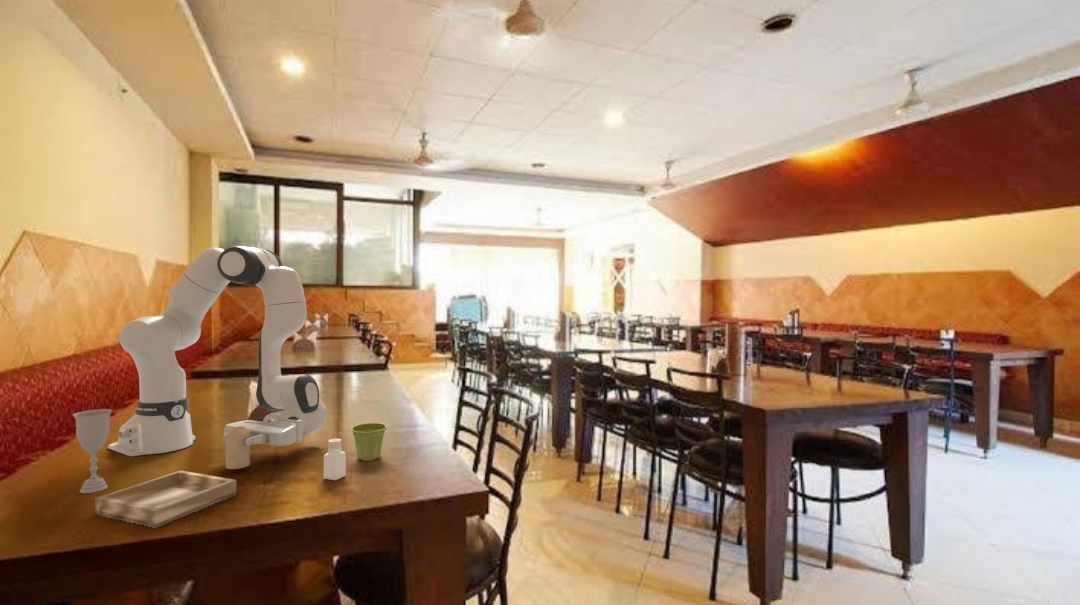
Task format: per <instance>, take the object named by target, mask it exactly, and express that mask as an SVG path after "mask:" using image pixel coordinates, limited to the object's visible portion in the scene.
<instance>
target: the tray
mask: <svg viewBox="0 0 1080 605" xmlns="http://www.w3.org/2000/svg"><path fill="white" fill-rule="evenodd" d="M236 496H237V479H232V478H225V477H221V476H216V475H209V474H204V473H199V472H197V473H196V472H193V471H192V472H191V471H186V470H180V469H179V470H176V471H173V472H170V473H168V474H164V475H162V476H158V477H156V478H152V479H150V480H146V481H143V482H140V483H137V484H134V485H131V486H128V487H125V488H122V489H119V490H115V491H112V492H110V493H106V494H103V495H100V496H97V497H95V498H94V500H95V501H94V502H95V504H94V505H95V506H94V511H95V512H94V514H95V516H99V517H103V518H107V519H111V518H112V520H116V519H117V520H116V521H120V520H122V521H121V522H124V521H126V522H125V523H129V522H131V523H130V524H133V523H136V524H135V525H137V524H140V525H139V526H141V525H144V526H143V527H146V526H148V527H147V528H150V527H152V528H151V529H154V528H155V530H156V528H157V529H159V528H161V527H164V526H166V525H168V524H167V523H169V522H171V523H173V522H175V521H174V520H176V521H178V520H180V519H179V518H181V519H183V518H185V517H188V516H190V515H192V514H191V513H193V512H195V513H197V512H200V511H202V510H204V509H203V508H205V509H207V508H209V507H212V506H214V505H216V504H215V503H217V504H218V502H219V503H221V502H224V501H226V500H228V498H229V499H231V498H233V497H236ZM223 500H224V501H223ZM220 501H221V502H220ZM213 504H214V505H213ZM211 505H212V506H211ZM208 506H209V507H208ZM206 507H207V508H206ZM201 509H202V510H201ZM199 510H200V511H199ZM189 514H190V515H189ZM193 514H194V513H193ZM187 515H188V516H187ZM184 516H185V517H184ZM182 517H183V518H182ZM177 519H178V520H177ZM172 521H173V522H172ZM165 524H166V525H165ZM169 524H170V523H169ZM163 525H164V526H163ZM158 527H159V528H158Z"/></svg>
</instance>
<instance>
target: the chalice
mask: <svg viewBox="0 0 1080 605" xmlns="http://www.w3.org/2000/svg"><path fill="white" fill-rule="evenodd" d="M112 411H113V409H111V408H99V409H98V408H97V409H89V410H82V411H79V412H75V413H73V414H72V416H73V417H74V419H75V437H76V438H77V440H78V443H79V444H80V445H81V447H82V448H83V450H84V451H85V453H89V454H90V459H89V461H88V462H89V463H90V468H88V471H90V477H89V478H87V479H85V480H84V482H83V484H82V486H81V489H80V490H79V493H81V494H92V493H96V492H99V491H100V492H101V491H104V490H106V489H108V487H109V485H108V484H107V482H106V481H105V479H104V478H103V477H101V476H99V475H98V474H97V470H98V469H99V467H98V465H97V462H98V460H99V459H98V457H97V453H98V451H101V450H102V449H103V447H104V445H105V443H106V441H107V440H108V436H109V435H110V431H111V430H110V429H111V426H110V420H111V419H110V416H111V414H112Z"/></svg>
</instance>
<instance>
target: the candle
mask: <svg viewBox="0 0 1080 605" xmlns="http://www.w3.org/2000/svg"><path fill="white" fill-rule="evenodd" d="M247 437H250V431H249V430H248V429H246V428H245V427H244V426H239V427H236V428H235V427H232V428H231V429H230V430H229V431H228V432H227V433H226V442H225V468H226V469H228V470H237V469H243V468H246V467H249V466H250V465H251V445H249V446H247V445H243V439H244V438H247Z"/></svg>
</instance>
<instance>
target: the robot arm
mask: <svg viewBox="0 0 1080 605" xmlns="http://www.w3.org/2000/svg"><path fill="white" fill-rule="evenodd" d="M301 280H302V279H301V278H300V274H299V272H298V271H297V270H295V269H294V268H291V267H289V266H283V262H282V260H281V258H280V257H279V256H278V255H277V254H276V253H274V252H273V251H271V250H269V249H264V248H261V247H256V246H244V245H236V246H235V245H234V246H231V247H230V246H229V247H227V248H225V249H224V248H219V247H208V248H207V249H205V250H204V251H202V253H200V254H199V255H198V256H197V257H196V258H194V260H193V261H192V262H191V263H190V264H189V265H188V266H187V267H186V268H185V269H184V271H183V272H182V273H181V275H180V276H179V277H178V279H177V280H176V281H175V283H174V284H173V285H171V288H170V289H169V291H168V292H167V298H168V304H167V306H166V308H165V310H164V311H163V312H162V313H161V314H159V315H152V316H151V315H150V316H141V317H139V318H136V319H133V320H131V321H128V322H127V323H125V324H124V325H123V326H122V327H121V328H120V331H119V334H118V339H119V340H118V341H119V343H120V344H119V345H120V346H121V347H122V349H123V350H124V351H126V352H127V353H128V354H129V355H130V356H131V358H132V360H133V361H134V364H135V367H136V370H137V373H138V378H139V379H138V381H139V401H138V402H134V403H133V405H134V406H133V407H134V408H136V409H135V410H134V411H135V412H134V415H133V416H132V417H131V418H129V419H128V420H127V421H126V422H124V423H123V424H122V425H121V426H120V428H119V430H118V440H117V441H115V442H112V443H110V444H108V447H107V449H108V450H112V451H114V452H117V453H120V454H122V455H124V456H127V457H136V456H138V457H139V456H143V455H155V454H164V453H170V452H174V451H179V450H182V449H185V448H188V447H191V445H193V444H194V440H196V435H194V434H193V431H192V430H193V429H192V421H191V414H190V413H189V412H188V411H187V410H188V409H189V401H188V397H187V383H186V382H187V375H186V374H187V373H186V371H185V369H184V368H182V366H180V365H179V363H178V360H177V357H176V353H175V352H176V351H180V350H185V349H186V348H189V347H190V346H192V345H194V344H195V343H197V342H198V340H199V339H200V338H201V334H202V327H201V326H202V322H203V320H204V318H205V316H206V314H207V313H208V311H209V309H210V308H211V306H213V304H214V303H215V301H216V300H217V299H218V298H219V296H220V295H221V294H222V292H223V291H224V290H225V289H226V287H227V286H228V285H229V283H231V282H232V283H234V284H238V285H239V284H240V285H244V286H245V285H247V286H252V287H254V286H256V287H258V289H260V291H261V292H262V297H263V303H264V304H263V305H264V320H263V325H262V327H261V329H260V332H259V336H258V337H259V338H258V379H257V386H256V391H255V392H256V393H255V397H256V400H257V402H258V404H259V406H260V407H261V408H262V409H264V410H265V411H268V412H270V413H269V414H267V415H265V417H264V418H263V420H262V421H260V420H254V419H247V420H246V419H245V420H239V421H236V422H231V423H227V424H226V425H224V428H223V429H224V431H223V432H224V433H223V434H224V435H223V436H222V441H223V443H226V433H227V432H228V431H229V430H230V429H231V428H232V427H235V428H236V427H239V426H244V427H245V428H246V429H248V430H249V431H250V437H247V438H244V439H243V445H247V446H249V445H250V446H251V445H259V444H261V445H265V446H266V445H267V446H272V447H286V446H289V445H293V444H300V443H302V442H303V436H306V435H309V434H311V433H313V432H315V431H317V430H319V429H320V428H322V427H323V425H324V424H325V423H326V422H327V419H328V416H329V415H328V410H327V409H328V408H327V407H326V405H325V404H324V403H323V402H322V401H321V399H320V390H319V385H318V383H317V381H316V379H315V378H314V377H313V376H311V375H310V374H307V373H306V374H305V373H304V374H293V375H286V376H284V375H282V372H281V371H282V370H281V369H282V368H281V367H282V366H281V364H282V363H281V362H282V361H281V360H282V359H281V356H282V354H281V353H282V352H281V349H282V346H283V344H284V343H285V342H286V341H287V339H289V338H290V337H291V336H293V335H295V334H296V333H298V332H299V331H300V330H301V329H302V328H303V326H304V325H305V324H306V322H307V318H308V311H307V310H308V308H307V302H306V296H305V292H304V287H303V284H302V281H301ZM274 411H275V412H274Z"/></svg>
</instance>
